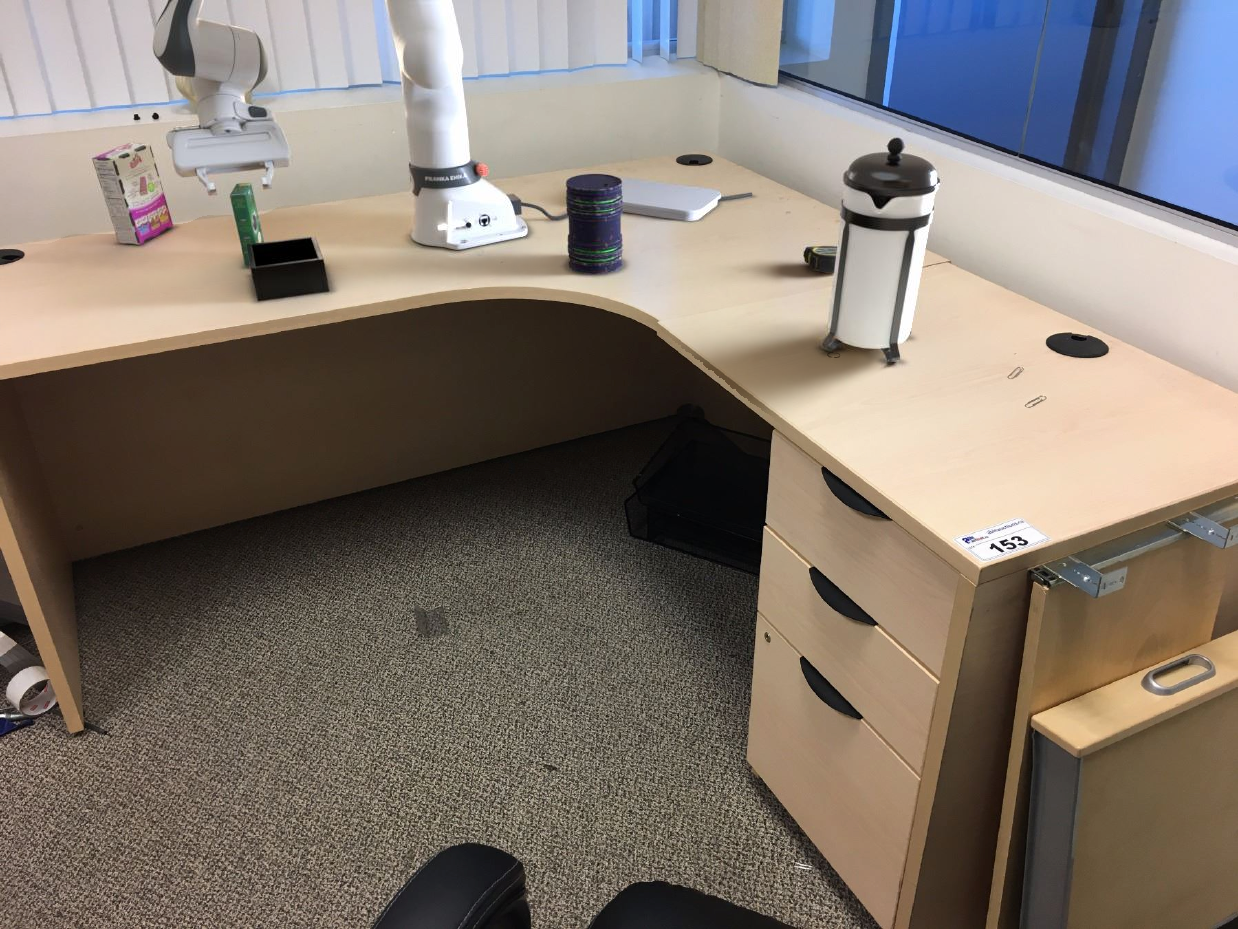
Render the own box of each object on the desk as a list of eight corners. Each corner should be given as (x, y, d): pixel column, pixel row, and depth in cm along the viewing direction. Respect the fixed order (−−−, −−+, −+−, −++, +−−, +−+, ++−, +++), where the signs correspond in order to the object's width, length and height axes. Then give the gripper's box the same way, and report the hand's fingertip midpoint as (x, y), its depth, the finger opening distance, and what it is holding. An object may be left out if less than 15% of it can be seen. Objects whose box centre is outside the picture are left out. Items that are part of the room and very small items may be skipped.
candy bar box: (152, 225, 189) (128, 141, 180) (174, 227, 188) (152, 142, 179) (116, 244, 180) (90, 156, 171) (139, 245, 179) (114, 158, 170)
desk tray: (320, 266, 169) (315, 235, 166) (329, 291, 159) (323, 259, 156) (253, 275, 166) (246, 244, 163) (257, 301, 156) (250, 268, 153)
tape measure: (839, 262, 170) (841, 242, 168) (850, 276, 164) (852, 255, 162) (802, 263, 170) (804, 243, 168) (811, 277, 164) (814, 256, 162)
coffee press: (943, 356, 137) (986, 146, 121) (845, 371, 134) (875, 155, 117) (883, 311, 151) (913, 117, 135) (792, 323, 148) (813, 125, 131)
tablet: (696, 223, 189) (697, 212, 187) (582, 206, 198) (581, 195, 197) (724, 201, 201) (725, 190, 200) (615, 186, 211) (615, 176, 209)
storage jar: (556, 265, 169) (553, 181, 161) (594, 251, 175) (593, 170, 167) (596, 279, 164) (594, 193, 156) (634, 264, 170) (634, 181, 162)
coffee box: (250, 252, 176) (235, 181, 168) (266, 251, 176) (252, 180, 169) (244, 267, 169) (228, 194, 162) (261, 266, 169) (245, 193, 162)
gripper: (160, 117, 166) (175, 188, 164) (281, 107, 172) (296, 175, 170) (167, 138, 172) (181, 206, 170) (283, 127, 178) (298, 193, 176)
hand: (240, 190), depth 170 cm, fingers open, 8 cm apart
